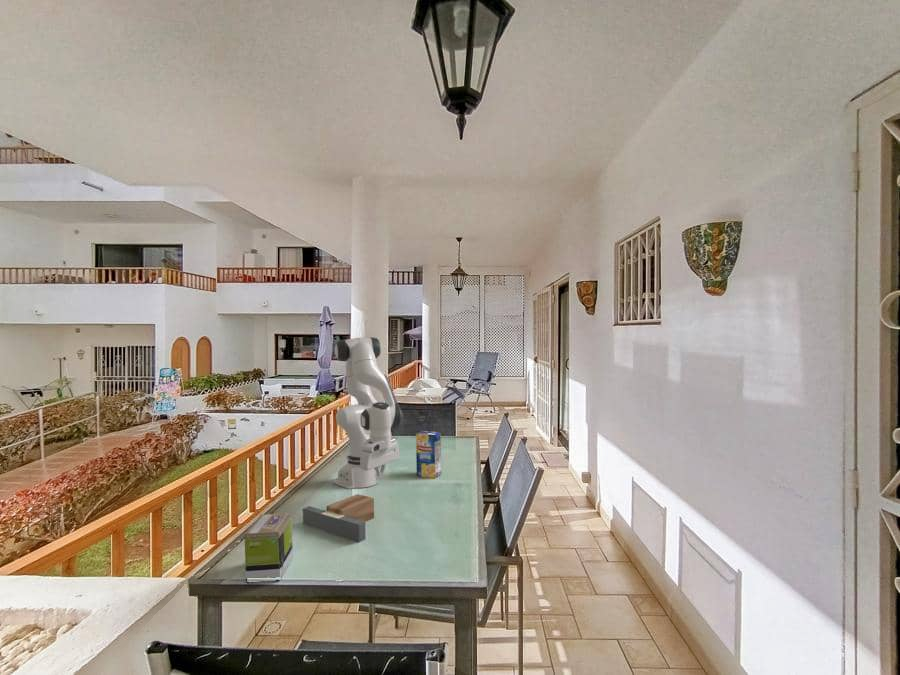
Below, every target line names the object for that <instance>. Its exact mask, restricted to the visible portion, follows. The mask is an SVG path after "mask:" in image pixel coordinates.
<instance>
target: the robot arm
mask: <svg viewBox="0 0 900 675" xmlns="http://www.w3.org/2000/svg"><path fill="white" fill-rule="evenodd" d="M381 352H382V344H381V343H380V340H379V339H378V338H377V337H354V338H348V339H340V340H338V341H336V343H335V346H334V355H335V357H336V359H337V360H338V361H340V362H344V363H345V365H346V366H345V379H346V390H347V393H348V394H349V395H350V396H351V397H354V398H355V399H356V401H357V404H350V405H346V406H343V407H340V408H338V410H336V411H337V412H336V414H335V420H336V424H337V425H338V427H339V428H341V429H342V430H344V432H345V433H346V435H347V437H348V442H349V453H350V455H346V460H347V462H346V463H345V464H344V465H343V466H342V467H340V468H339V469H338V471H337V478H335V479H333V480H332V484H334V483H335V485H337V486H340V487H343V488H345V489H348V490H349V489H360V488H362V489H363V488H369V487H373V486H375V485H376V484H377V483H378V481H377V477H379V478H380V477H381V476H384V475H385V471H386V468H387V464H390V463H392V462H395V461H398V460H399V458H400V448H399V444H398V440H397V439H396V438H392V431H391V430H398V429H399V428H400V427H401V426H402V425H403V424H404V418H405V417H404V413H403V410H402V409H401V407H400V405H399V403H398V400H397V398H396V395H395V393H394V391H393V388H392V386H391V383H390V381H389V378H388V376H387V375H386V374H385V373H384V372H382V370H380V368H379V366H378V362H377V359H378V358H379V356H380V355H381ZM371 387H372V388H375V389H377V390H378V391H379V392H380V393H381V394H382V396H383V400H384V402H383V401H381V402H380V401H379V402H378V401H377V399H376V398H375V396H374V394H373V392H372V389H371ZM365 431H370V433H369V434H368V433H365Z"/></svg>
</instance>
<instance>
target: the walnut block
mask: <svg viewBox="0 0 900 675" xmlns="http://www.w3.org/2000/svg"><path fill="white" fill-rule="evenodd" d="M325 508H326V510H325V511H330V512H334V513H337V514H341V515H344V516H346V517H350V518H353V519H357V520H361V521H364V522H365V523H366V522H369V521H370V520H373V519H374V518H375V499H374V497H371V496H366V495H364V494H363V495H362V494H358V493H357V494H354V495H352V496H349V497H346V498H344V499H341V500H339V501H336V502H333V503H331V504H329V505H326V507H325Z"/></svg>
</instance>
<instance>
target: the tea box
mask: <svg viewBox="0 0 900 675" xmlns="http://www.w3.org/2000/svg"><path fill="white" fill-rule="evenodd" d="M292 522H293V520H292V512H283V513H272V514H271V513H270V514H260V515H259V517H257V519H256V520H255V521H254V523H252V525H251V526H250V527H249V529H248V530H247V531H246V532H245V533H244V559H245V560H244V562H245V564H244V566H245V579H246V578H268V577H269V578H276V577H281V576H282V574H283V573H284V574H285V572H286V571H285V569H286V568H287V569H288V567H287V566H289V565H290V563H291V562H290V561H292V559H293V558H294V550H293V546H294V545H293V524H292ZM288 564H289V565H288ZM287 569H286V570H287ZM284 571H285V572H284ZM284 574H283V575H284ZM282 577H283V576H282Z"/></svg>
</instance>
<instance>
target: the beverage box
mask: <svg viewBox="0 0 900 675" xmlns="http://www.w3.org/2000/svg"><path fill="white" fill-rule="evenodd" d="M441 436H442V434H441V432H440V431H429V430H428V431H427V430H421V431H419V432H416V433H415V448H416V449H415V450H416V451H415V452H416V453H415V454H416V455H415V457H416V458H415V460H416V476H417V477H422V478H428V479H436V478H439V477H440V476H442V437H441Z"/></svg>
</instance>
